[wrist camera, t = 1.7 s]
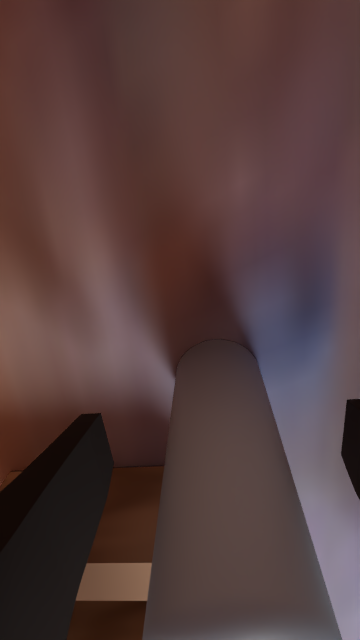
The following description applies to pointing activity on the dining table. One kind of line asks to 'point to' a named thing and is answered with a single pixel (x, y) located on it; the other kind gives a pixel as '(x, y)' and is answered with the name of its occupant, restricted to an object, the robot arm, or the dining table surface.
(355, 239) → the dining table surface
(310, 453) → the dining table surface
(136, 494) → the socket block
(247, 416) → the dowel
